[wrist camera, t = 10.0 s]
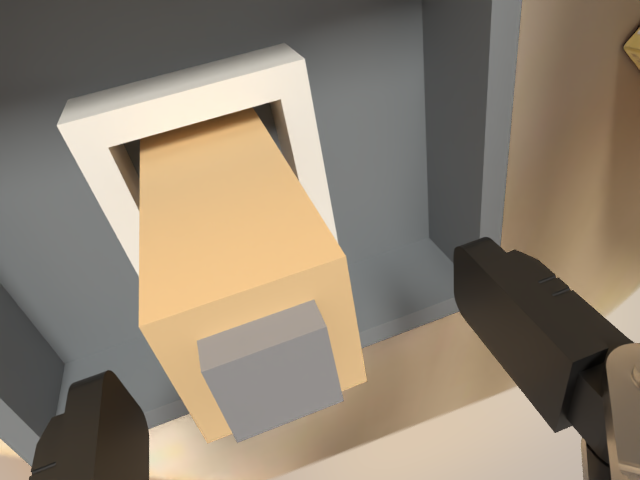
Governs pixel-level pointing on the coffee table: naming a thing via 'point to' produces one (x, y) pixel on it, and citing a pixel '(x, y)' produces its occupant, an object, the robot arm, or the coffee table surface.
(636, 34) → the candy box
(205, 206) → the connector
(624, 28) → the coffee table surface
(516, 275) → the robot arm
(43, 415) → the box
